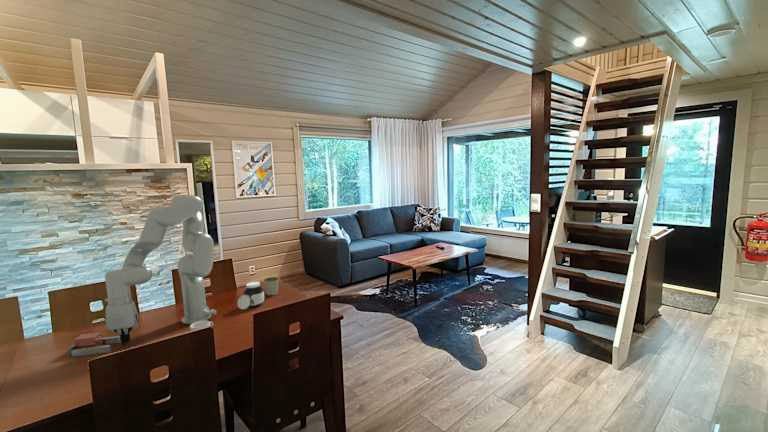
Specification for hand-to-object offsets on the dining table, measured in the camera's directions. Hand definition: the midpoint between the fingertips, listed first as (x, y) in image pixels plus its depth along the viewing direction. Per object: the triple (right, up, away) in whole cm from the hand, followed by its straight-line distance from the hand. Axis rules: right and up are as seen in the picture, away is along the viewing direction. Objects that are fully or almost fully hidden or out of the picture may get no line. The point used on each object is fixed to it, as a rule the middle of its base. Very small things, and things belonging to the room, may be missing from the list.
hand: (125, 342), depth 148 cm
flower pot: (+42, +7, +58) cm, 72 cm away
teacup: (+28, 0, +7) cm, 29 cm away
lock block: (-13, -2, -3) cm, 13 cm away
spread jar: (+37, +5, +40) cm, 55 cm away
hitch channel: (-10, -2, -2) cm, 11 cm away
